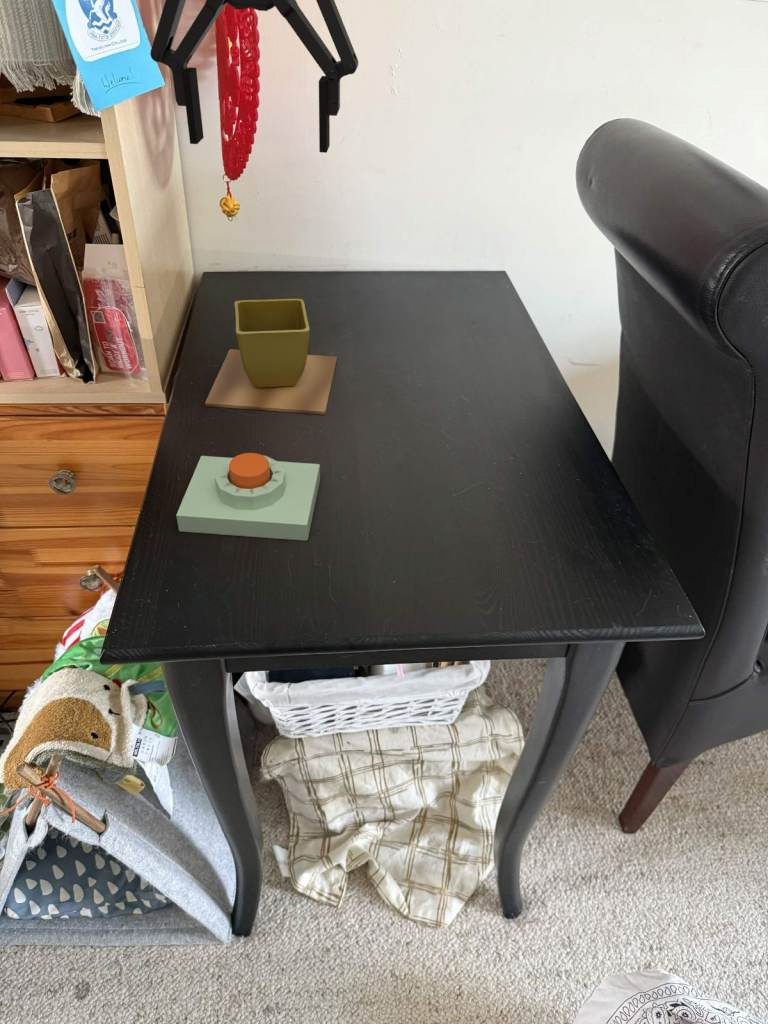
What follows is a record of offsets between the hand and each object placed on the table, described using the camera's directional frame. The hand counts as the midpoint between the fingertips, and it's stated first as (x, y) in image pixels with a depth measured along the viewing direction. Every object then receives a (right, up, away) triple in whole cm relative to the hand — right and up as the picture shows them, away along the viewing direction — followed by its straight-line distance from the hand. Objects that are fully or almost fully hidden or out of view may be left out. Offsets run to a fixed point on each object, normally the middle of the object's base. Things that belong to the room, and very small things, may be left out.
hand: (260, 145), depth 77 cm
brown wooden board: (-1, -22, +19) cm, 29 cm away
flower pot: (-1, -21, +18) cm, 28 cm away
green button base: (-1, -38, 0) cm, 38 cm away
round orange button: (-1, -35, -3) cm, 35 cm away
